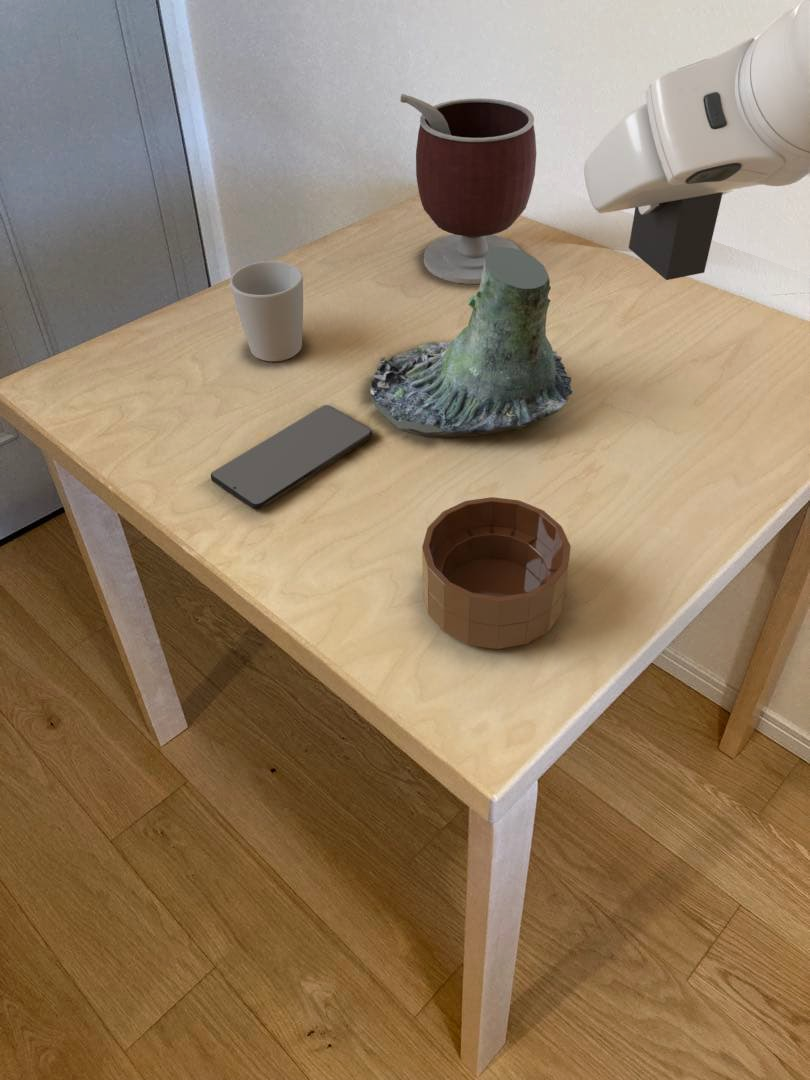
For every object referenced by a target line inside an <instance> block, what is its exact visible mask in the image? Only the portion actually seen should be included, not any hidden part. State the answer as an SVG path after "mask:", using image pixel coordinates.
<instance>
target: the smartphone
mask: <svg viewBox="0 0 810 1080" xmlns="http://www.w3.org/2000/svg"><path fill="white" fill-rule="evenodd" d="M372 436H373V430H372V429H371V428H370V427H368V426H366V425H365V424H363V423H361V422H360V421H357V420H356V419H354V418H352V417H350V416H348V415H347V414H345V413H343V412H341V411H340V410H338V409H337V408H335V407H333V406H331V405H328V404H324V405H322V406H320V407H318V408H316V409H315V410H314V411H312V412H310V413H308V414H307V415H305V416H303V417H302V418H299V420H296V421H295V422H293V423H292V424H290V425H288V426H287V427H285V428H283V429H282V430H280V431H278V432H276V433H274V434H273V435H272V436H270V437H269V438H266V439H265V440H263V441H262V442H260V443H258V444H257V445H254V446H253V447H252V448H250V449H248V450H246V451H245V452H243V453H241V454H240V455H238V456H236V457H234V458H233V459H231V460H230V461H228V462H226V463H225V464H223V465H221V466H220V467H218V468H216V469H215V470H213V471H212V472H211V473H210V480H211V482H213V483H214V484H215V485H217V486H218V487H220V488H221V489H222V490H224V491H225V492H227V493H228V494H230V495H231V496H233V497H234V498H236V499H237V500H238V501H240V502H242V503H243V504H245V505H246V506H248V507H249V508H250V509H252V510H255V511H258V510H262V509H263V508H265V507H266V506H268V505H269V504H271V503H273V502H274V501H275V500H277V499H278V498H280V497H282V496H284V495H285V494H287V493H288V492H289V491H291V490H292V489H294V488H296V487H297V486H299V485H300V484H302V483H303V482H305V481H306V480H308V479H309V478H311V477H313V476H314V475H316V474H317V473H318V472H320V471H322V470H324V469H325V468H327V467H329V465H331V464H332V463H334V462H336V461H337V460H339V459H341V458H342V457H344V456H345V455H347V454H348V453H349V452H351V451H353V450H354V449H356V448H357V447H359V446H361V445H362V444H364V443H366V441H368V440H370V439H371V438H372Z"/></svg>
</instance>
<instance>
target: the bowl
mask: <svg viewBox="0 0 810 1080" xmlns="http://www.w3.org/2000/svg"><path fill="white" fill-rule="evenodd" d="M571 547H572V546H571V544H570V542H569V539H568V537H567V535H566V533H565V530H564V528H563V526H562V525H561V524H560V523H559V522H558V521H556V520H555V518H553V517H552V516H550V514H549V513H547V512H546V511H545V510H543V509H541V508H539V507H536V506H534V505H532V504H529V503H526V502H524V501H522V500H519V499H511V498H503V497H494V496H491V497H483V498H477V499H469V500H465V501H462V502H460V503H458V504H456V505H453V506H452V507H450V508H449V507H448V508H447V509H444V510H443V511H442V512H441V513H440V514H439V515H438V516H437V517H436V518H435V519H434V520H433V521H432V522H431V523H430V524H429V526H428V527H427V528H426V532H425V536H424V538H423V543H422V546H421V552H422V553H421V555H422V556H421V558H422V559H421V561H422V562H421V563H422V597H423V599H424V603H425V607H426V611H427V614H428V616H429V617H430V618H431V619H432V620H433V622H434V623H435V624H436V625H437V626H438V627H439V628H440V629H441V630H442V632H444V634H446V635H448V636H450V637H452V638H454V639H456V640H458V641H460V642H462V643H464V644H466V645H467V646H468V645H469V646H473V647H480V648H486V649H493V650H494V649H495V650H497V649H498V650H501V649H506V648H513V647H518V646H525V645H527V644H529V643H531V642H532V641H534V640H536V639H538V638H540V637H541V636H543V635H546V634H547V633H548V632H550V630H551V628H552V627H553V626H554V625H555V623H556V622H557V620H558V619H559V618H560V616H561V615H562V611H563V604H564V599H565V591H566V586H567V585H566V584H567V578H568V572H569V566H570V565H569V564H570V556H571V549H572V548H571Z"/></svg>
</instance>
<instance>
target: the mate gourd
mask: <svg viewBox="0 0 810 1080" xmlns="http://www.w3.org/2000/svg"><path fill="white" fill-rule="evenodd" d="M399 101H400V103H404V104H408V105H410V106H411V107H413V108H414V109H416V110H417V111H418V112H419V113H420V114H421V115H420V119H419V128H418V133H417V141H416V148H415V177H416V183H417V191H418V195H419V199H420V202H421V205H422V208H423V210H424V211H425V213H426V214H427V215H428V216H429V218H430V219H431V220H432V221H433V223H434V224H435V225H436V226H437V228H438V229H441V230H442V231H443V232H447V233H449V234H451V235H447V236H443V237H441V238H439V239H436V240H435V241H433V242H432V243H430V244H429V245H428V246H427V247H426V248H425V250H424V253H423V264H424V266H425V268H426V269H427V271H428V272H429V273H431V275H433V276H435V277H437V278H439V279H441V280H444V281H447V282H452V283H456V284H464V285H480V283H481V277H482V273H483V268H484V262H485V256H486V254H487V252H488V251H489V250H491V249H493V248H499V247H507V248H514V249H517V250H520V251H521V249H520V248H519V247H518V245H516V243H514V242H513V241H510V240H509V239H506V238H505V237H502V236H498V235H496V234H499V233H502V232H504V231H506V230H508V229H509V228H510V227H511V226H512V225H513V224H515V222H516V221H517V220H518V218H519V217H520V216H521V215H522V214H523V213H524V211H525V210H526V208H527V205H528V203H529V200H530V197H531V194H532V189H533V185H534V181H535V175H536V165H537V164H536V163H537V141H536V131H535V125H534V123H535V117H534V114H533V113H532V111H530V110H529V109H528V108H526V107H524V106H522V105H520V104H518V103H514V102H511V101H507V100H502V99H495V98H479V97H478V98H477V97H476V98H461V99H460V98H459V99H453V100H449V101H445V102H440V103H438V104H435V105H431V103H428V102H425V101H424V100H422V99H419V98H416V97H414V96H411V95H407V94H404V93H401V95H400V100H399Z"/></svg>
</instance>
